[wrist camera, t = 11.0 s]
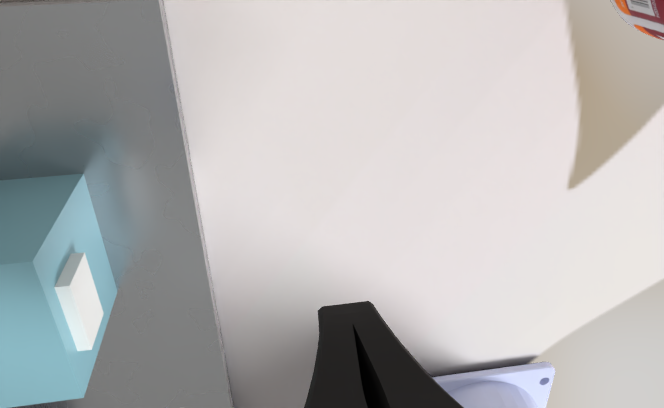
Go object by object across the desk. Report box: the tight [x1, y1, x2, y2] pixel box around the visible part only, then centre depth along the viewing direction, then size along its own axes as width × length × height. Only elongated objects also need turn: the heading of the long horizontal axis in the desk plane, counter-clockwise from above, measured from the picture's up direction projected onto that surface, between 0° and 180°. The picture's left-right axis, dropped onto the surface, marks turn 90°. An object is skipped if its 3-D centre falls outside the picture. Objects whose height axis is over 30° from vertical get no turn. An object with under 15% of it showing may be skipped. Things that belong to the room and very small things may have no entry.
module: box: [0, 174, 117, 408], centre depth 16 cm, size 5×4×5 cm
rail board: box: [0, 0, 234, 408], centre depth 20 cm, size 22×10×3 cm, turn 2°
